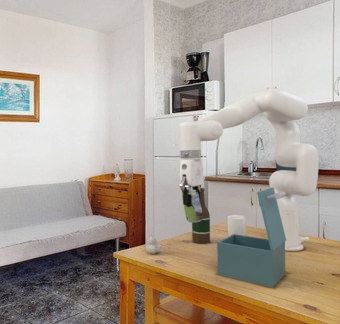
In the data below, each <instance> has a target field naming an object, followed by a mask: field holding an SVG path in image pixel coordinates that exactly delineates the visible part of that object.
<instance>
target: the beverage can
mask: <svg viewBox="0 0 340 324" xmlns="http://www.w3.org/2000/svg"><path fill="white" fill-rule="evenodd" d="M190 194H192V205H183V209H184V213H185V219H186V221H187V222H189V223H191V224H192V223H193V222H199V221H201V220H202V219H203V214H202V209H201V204H200V200H199V195H198V192H197V191H196V190H192V189H191V193H190ZM181 200H182V201H183V194H182V193H181Z"/></svg>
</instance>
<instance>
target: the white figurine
mask: <svg viewBox="0 0 340 324" xmlns="http://www.w3.org/2000/svg"><path fill="white" fill-rule="evenodd" d="M146 241H147V244H146V245H145V251H146V252H147V253H148V254H150V255H151V254H152V255H153V254H157V253H158V252H161V251H162V247H163V245H162V244H161V243H158V241H157V238H156V237H155V236H154V235H153V234H152V233H150V237H149V238H148V239H147V240H146Z"/></svg>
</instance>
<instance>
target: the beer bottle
mask: <svg viewBox="0 0 340 324" xmlns="http://www.w3.org/2000/svg"><path fill="white" fill-rule="evenodd" d="M200 189H201V191H200V204H201V209H202V214H203V219H202V220H201V221H199V222H193V223H191V228H192V229H191V234H192V235H191V238H192V242H193V243H194V244H199V245H201V244H202V245H206V244H210V242H211V223H210V222H211V215H210V211H209V209H208V208H207V207H206V200H205V198H206V197H205V191H206V190H205V188H204V187H201V188H200Z"/></svg>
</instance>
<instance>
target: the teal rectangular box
mask: <svg viewBox="0 0 340 324" xmlns="http://www.w3.org/2000/svg"><path fill="white" fill-rule="evenodd" d="M216 251H217V252H216V254H217V257H216V258H217V275H218V276H223V277H226V278H230V279H235V280H239V281H242V282H247V283H250V284H251V283H252V284H254V285H255V284H256V285H259V286H264V287H268V288H272V289H273V288H274V287H275V286H276V285H277V284H278V283H279V282H280V281H281V280H282V279H283V278H284V277H285V276H286V250H285V242H284V243H282V244H281V245H280V246H278V247H277V248H276V249H275V250H271V249H270V245H269V240H268V238H262V237H256V236H250V235H249V236H248V235H246V236H243V235H236V234H232V235H230V236H229V237H228V236H226V237H225V238H222V239H221V240H219V241H217V242H216Z"/></svg>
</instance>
